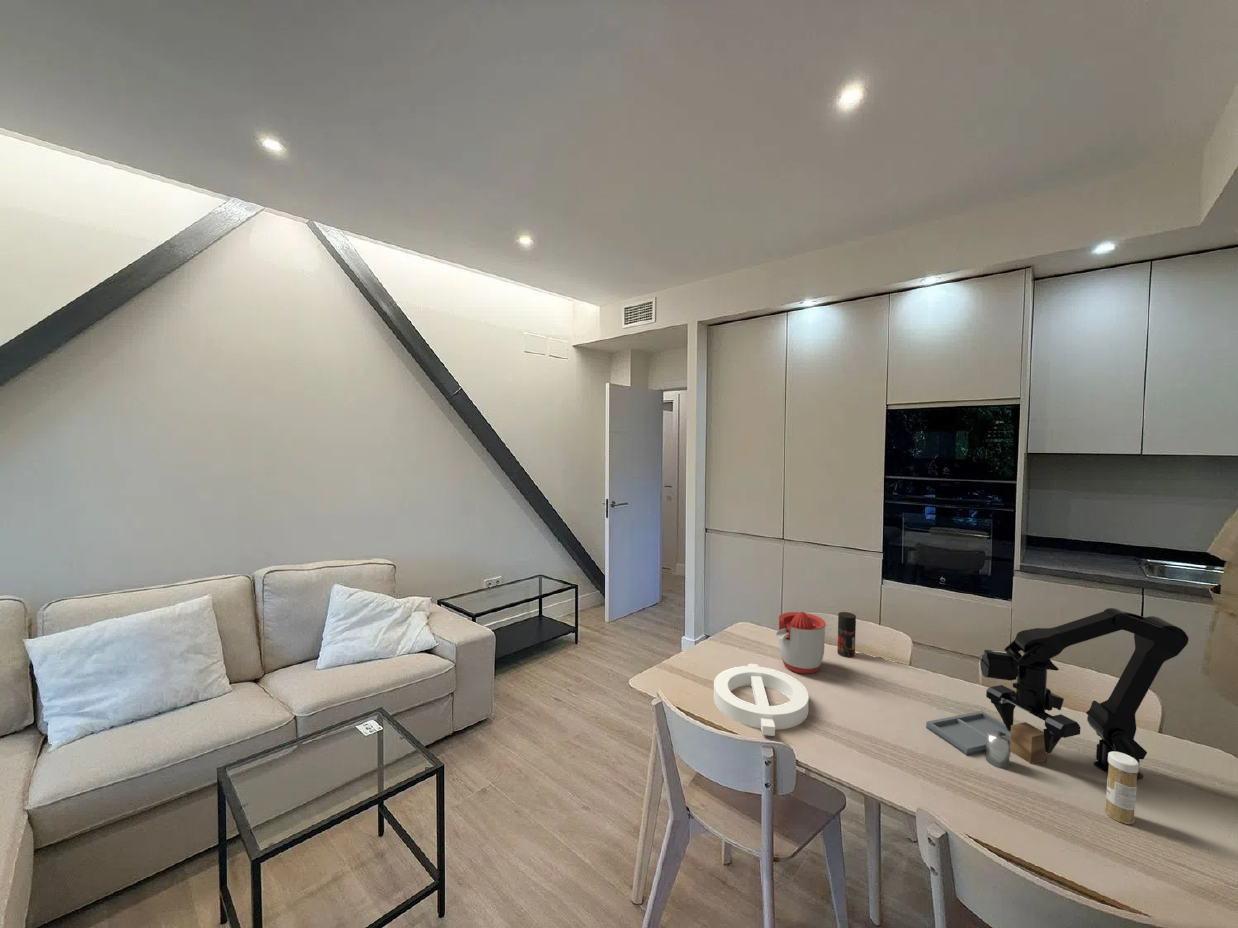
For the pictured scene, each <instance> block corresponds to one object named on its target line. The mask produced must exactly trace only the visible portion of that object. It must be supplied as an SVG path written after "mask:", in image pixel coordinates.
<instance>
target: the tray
mask: <svg viewBox="0 0 1238 928" xmlns="http://www.w3.org/2000/svg"><path fill="white" fill-rule="evenodd" d="M925 724H926V726H925V728H926V729H927V730H929V731H930V732H932V733H933V734H934V735H936V736H937V737H939V738H940V739H941V740H943V741H945V742H946V743H947V744H949V745H951V746H952V747H953V748H955V749H957V750H958V751H960V752H961V753H962V754H963V755H966V756H969V755H970V756H971V755H976V754H979V753H984V752H986V744H987V731H989V730H996V731H999V732H1002V733H1004V734H1006V735H1008V736H1009V737H1010V738H1011V731H1008V730H1007V728H1006V726H1005V724H1004V722H1002V721H1000V720H999V719H997V718H996V717H993V716H992V715H990V714H988V713H987V712H985V711H984V710H979V711H975V712H969V713H963V714H959V715H954V716H949V717H948V716H947V717H943V718H938V719H933V720H928V721H926V723H925Z"/></svg>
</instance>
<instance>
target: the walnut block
mask: <svg viewBox="0 0 1238 928" xmlns="http://www.w3.org/2000/svg"><path fill="white" fill-rule="evenodd" d="M1010 753H1013V754H1014V755H1015V756H1017V757H1019V758H1021V759H1022V760H1024V761H1025V762H1027V763H1029V764H1030V765H1031V764H1034V763H1035V764H1036V763H1039V762H1040V763H1041V762H1043V761H1046V756H1047V753H1046V750H1045V742H1044V731H1042V730H1041V729H1039V728H1037V727H1035V726H1033V725H1032V724H1030V723H1029V722H1020V723H1016V724H1013V725H1011V738H1010Z"/></svg>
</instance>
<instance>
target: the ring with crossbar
mask: <svg viewBox="0 0 1238 928" xmlns="http://www.w3.org/2000/svg"><path fill="white" fill-rule="evenodd" d="M744 686H751V690H752V694H753V698H754V703H755V704H754V703H752V702H748V701H745V700H743V699H741V698H739V697H737V696H736V695H734V693H732V691H733V690H735V689H736V688H741V687H744ZM765 688H769V689H772V690H775V691H777V692H779V693H781V694H782V695H784V696H785V697H787V698H788V699H789V701H786V702H785V703H782V704H778V705H777V704H776V705H770V704H769V700H768V697H767V692H766V689H765ZM809 699H810V698H809V692H808V690H807V687H805V685H804V684H803V683H802V682H801V681H799V680H798V679H796V678H795V677H794V676H791V675H789V674H787V673H785V672H782V671H781V670H780V671H779V670H777V669H773V668H769V667H765V666H764V667H763V666H759V664H758V663H747V665H741V666H735V667H730V668H727V669H725V670H723V671H721V672H720V673H718V674H717V675H716V676H715V678H714V681H713V702H714V704H715V706H716V707H717V709H718V710H719V711H720V712H721V713H722V714H724V716H726V717H727V718H729V719H731V720H732V721H734V722H737V723H740V724H741V725H744V726H747V727H750V728H751V727H752V728H754V729H759V730H761V735H762V736H770V737H771V736H772V737H775V736H776V730H786V729H790V728H794V727H796V726H798V725H800V724H802V723H803V722H804V721H805V720H806V719H807V717H808V716H809V701H810V700H809Z"/></svg>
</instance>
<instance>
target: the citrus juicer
mask: <svg viewBox="0 0 1238 928" xmlns="http://www.w3.org/2000/svg"><path fill="white" fill-rule="evenodd" d="M826 626H827V623H826V621H825V620H824V619H823V618H822V617H819V616H817V615H815V614H811V613H807V612H804V611H799V612H798V611H790V612H784V613H781V614H779V616H778V630H777V631H776V634H775V635H776V638H778V643H779V644H778V647H779V652H780V655H781V660H782V663H783V666H784V667H785V668H787V669H788V670H790V671H792V672H795V673H797V674H815V673H817V672H818V671H819V669H820V668H821V666H822V662H823V659H824V655H825V645H826V644H825V643H826V642H825V638H826V634H825V633H826V632H825V631H826Z"/></svg>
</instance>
